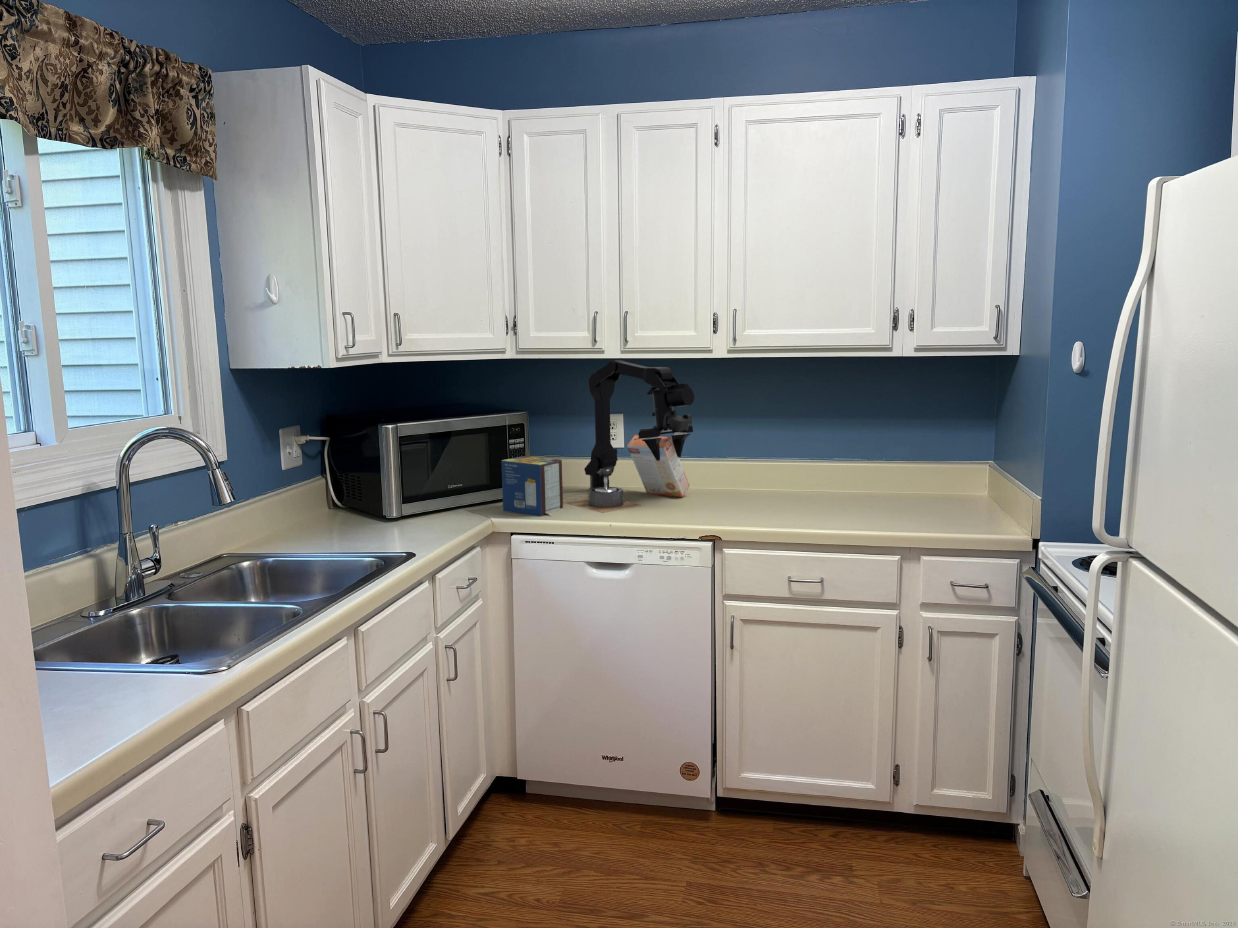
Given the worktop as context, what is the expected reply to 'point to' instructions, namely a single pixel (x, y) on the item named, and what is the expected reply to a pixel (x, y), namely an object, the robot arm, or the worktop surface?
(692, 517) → the worktop surface
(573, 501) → the board
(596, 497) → the gray faceted ring
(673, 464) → the cracker box
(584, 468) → the robot arm
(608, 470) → the plunger
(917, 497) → the worktop surface
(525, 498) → the protein box
